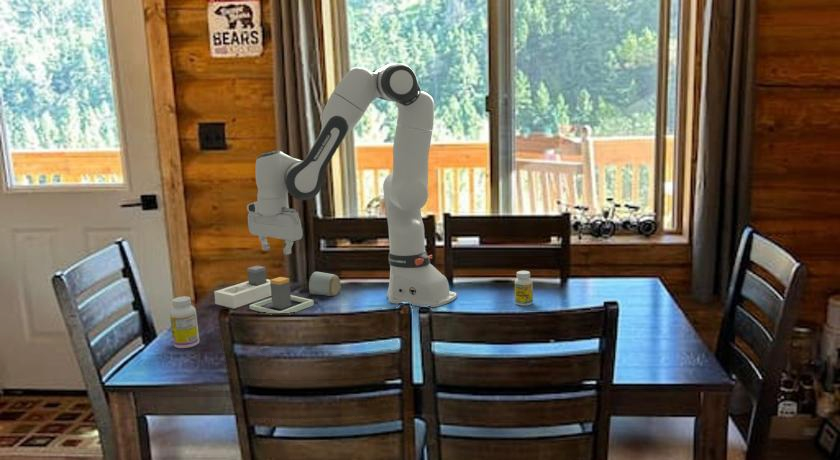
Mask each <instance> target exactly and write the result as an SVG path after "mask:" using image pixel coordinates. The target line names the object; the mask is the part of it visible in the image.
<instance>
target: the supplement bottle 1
mask: <svg viewBox="0 0 840 460" xmlns="http://www.w3.org/2000/svg"><path fill="white" fill-rule="evenodd" d="M171 301H172V306H173V308H171V310H170V312H169V317H170V326H171V331H172V332H171V334H172V341H173V346H174V347H175V348H178V349H188V348H192V347H195V346H197V345H198V344H200V343H199V342H200V334H199V325H198V317H197V310H196V307H195V306H194V305H192V299H191V297H190V296H178V297H175V298H173V299H172V300H171Z"/></svg>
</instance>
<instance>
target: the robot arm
mask: <svg viewBox="0 0 840 460" xmlns="http://www.w3.org/2000/svg"><path fill="white" fill-rule="evenodd" d="M376 99H382V100H384V101H388V102H393V103H395V104H396V107H397V114H398V116H397V122H396V127H395V132H394V137H393V138H394V139H393V145H392V172H391V173H389V174H388V175H387V176H386V177H385V178H384V180H383V181H384V182H383V184H382V189H383V198H384V200H383V201H384V206H385V214H386V221H387V226H388V228H387V229H388V240H389V241H388V243H389V252H388V264H389V269H390V270H389V280H388V281H389V282H388V289H387V294H386V297H387V298H388V303H390V304H398V303H402V302H408V303H409V302H410V304H412V305H411V306H415V305H417V306H416V307H422V306H421V305H425V306H428V305H429V306H431V307H430V308H434V307H435V308H436V307H440V306H442V305H446V304H448V303H450V302H453V301H454V300H455V299H457V297H458V296H457V294H458V293H457V292H455V291H450V286H449V281H448V278H447V277H446V276H445V275H444V274H442V273H441V272H440V271H439V270H438V269H437V268H436V267H435V266H434V265H433V264H431V259H433V254H430V255H428V253H427V250H426V243H425V241H426V239H425V225H424V222H423V217H422V213H421V212H422V211H421V209H422V208H423V207H425V205H426V204H427V201H428V199H429V198H428V197H429V191H428V183H429V155H430V148H431V144H432V142H431V141H432V135H433V129H434V121H435V102H434V99H433V97H432V96H431V95H430V94H428V93H427V92H426V91H422V89H421V86H420V84H419V81H418V78H417V75H416V73H415V72H414V70H413V69H412V68H411V67H410V66H409V65H407V64H405V63H399V62H393V63H388V64H386V65H383V66H381V67H379V68H377V69H375V70H373V71H371V70H368V69H367V68H365V67H362V66H361V67H360V66H356V67H352V68H351V69H349V71H348V72H347V73H346V74H345V75H344V76H343V77H342V79H341V80H340V81H339V82H338V84H337V85H336V87H335V88H334V89H333V91H332V93H331V94H330V96H329V98H328V100H327V101H326V104H325V107H324V108H323V111H322V123H321V129H320V132H319V135H318V137H317V138H316V140H315V142H314V144H313V145H312V147H311V148H310V150H309V152H308V154H307V155H306V156H305V158H304V159H303V160H301V159H299V158H294V157H292V156H290V155H288V154H286V153H284V152H283V151H281V150H271V151H268V152H263V153H261V154H260V155H259V156H258V157H257V158H256V161H255V183H256V187H257V198H256V199H257V201H254V202H251V203H249V204H247V205H246V210H247V212H248V213H247V214H248V215H247V224H248V225H247V226H248V227H247V228H248V231H249V233H250V234H251V235H253V236H258V240H259V242H260V244H261V249H262V250H263V251H269V250H271V247H270V246H271V244H270V243H268V239H267V238H272V239H273V238H274V239H279V240H284V244H285V247H283V249H282V250H283V254H284V255H291V254H292V247H293V244H294V241H298V240H301V239H302V238H303V227H302V223H301V221H302V220H301V218H300V215H299V214H300V213H298V212H297V211H296V209H294V208H290V206H289V195H288V193H289V194H290V195H291V196H292V197H294V199H296V200H300V201H306V200H307V201H308V200H311V199H313V198H315V197H317V196H318V194H319V193H320V192H321V190H322V186H323V180H324V173H325V170H326V169H327V167H328V165H329V164H330V162H331V160H332V159H333V157H334V155H335V153H336V152H337V151H338V148H339V147H340V145H341V143H342V142H343V141H344V140H345V138H346V137H347V136H348V135H349V134H350V133H351V131H352V130H353V129H355V127H356V126H357V125H358V123H359V122H360V120H361V119H362V118H363V116H364V115H365V113H366V111H367V110H368V108H369V106H370V104H371V103H372V102H373V101H374V100H376ZM398 305H399V304H398Z"/></svg>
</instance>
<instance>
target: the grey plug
mask: <svg viewBox="0 0 840 460" xmlns="http://www.w3.org/2000/svg"><path fill="white" fill-rule="evenodd" d="M269 280H270V284H271V296H270V297H271V298H272V303H271V304H272V306H271V307H272V308H274V309H277V310H285V309H288V308H290V307H292V300H291V295H292V294H291V285H290V278H289V277H283V276H278V277H275V278H272V279H269Z"/></svg>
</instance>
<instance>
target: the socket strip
mask: <svg viewBox="0 0 840 460" xmlns="http://www.w3.org/2000/svg"><path fill="white" fill-rule="evenodd" d="M270 280H271V279H268V278H266V281H267V283H265V284H262V285H258V286H254V285H249V282H248V280H247V281H244V282H241V283H237V284H235V285H231V286H227V287H224V288H222V289H217V290H214V291H213V293H214V302H215V305H217V306H223V307H226V308H230V309H237V308H240V307H243V306H245V305H250V304H251V303H252V304H253V303H256V302H259V301H260V300H261V301H262V300H265V299H268V298H270V297H272V296H271V284H270Z"/></svg>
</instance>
